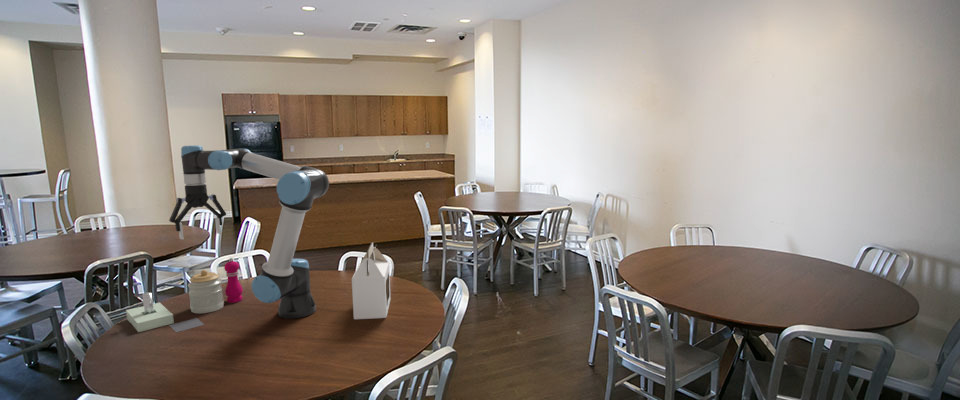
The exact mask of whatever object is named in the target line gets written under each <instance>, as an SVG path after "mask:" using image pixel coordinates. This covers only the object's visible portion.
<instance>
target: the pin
mask: <svg viewBox="0 0 960 400" xmlns="http://www.w3.org/2000/svg"><path fill="white" fill-rule="evenodd" d="M141 295H142V304H143V306H144V313H145V315H148V314H152V313H154V308H153V304H154V302H153V301H154V300H153V293H152V292H151V291H148V292H143V293H142V294H141Z"/></svg>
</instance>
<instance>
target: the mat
mask: <svg viewBox="0 0 960 400" xmlns="http://www.w3.org/2000/svg"><path fill="white" fill-rule="evenodd" d="M204 325H205V324H204V322H202V321H201V320H200V319H199V318H198V317H195V318H191V319H187V320H183V321H180V322H176V323H175V322H174V323H172V324H169V325H168V326H169V327H170V328H171V329H172V330H173V331H174V332H175V333H180V332H183V331H186V330H187V331H188V330H190V329H194V328H197V327H200V326H201V327H202V326H204Z"/></svg>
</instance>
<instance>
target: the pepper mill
mask: <svg viewBox="0 0 960 400" xmlns="http://www.w3.org/2000/svg"><path fill="white" fill-rule="evenodd" d="M223 269H224V271H225V274H226V275H225V276H226V277H227V283H226V287H225V290H224V294H225V295H226V302H227V303H229V304H230V303H231V304H234V303H238V302H241V301H242V300H243V295H242V294H243V292H244V290H243V286H242V285H241V283H240V281H239V277H238V275H239V274H240V273H239V269H240V264H239V262H238V261H234V258H233V257H230V258H228V261H227V262H226V263H225V264H224V268H223Z"/></svg>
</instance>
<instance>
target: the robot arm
mask: <svg viewBox="0 0 960 400" xmlns="http://www.w3.org/2000/svg"><path fill="white" fill-rule="evenodd" d="M180 151H181V152H180V153H181V154H180V155H181V156H180V158H181V163H182V171H183V173H182V174H183V183H184V184H185V185H184V192H185V197H181V198H180V197H177V198H176V204H175V206H174V208H173V210H172V213H171V215H170V217H169V219H168V222H170V223H173V224H175V225H174V226H175V231H176V232H178V236H179V240H182V241H183V240H185V239H184V238H185V237H184V226H183V223H182V222H181V221H183V219H184V218H185V216H186V215H187V214H188V213H189V211H190V210H191V209H192V208H193V209H195V208H203V207H205V208H206V209H207V210H208V211H210V212H211V213H212V214H213V215H215V216H216V217H214V221H215V230H216V234H218V235H220V234H221V226H222V225H223V220H222V219H223V217H224V216H225V217H226V216H227V212H226V211H225V210H224V209H223V206H222V205H221V203H220V202H219V201H218V198H217V195H216V194H213V193H212V194H211V195H208V190H207V189H208V188H207V184H206V182H207V179H206V178H207V177H206V171H207V170H208V171H209V170H211V171H212V170H213V171H214V170H215V171H224V170H229V169H232V168H239V169H241V170H245V171H248V172H252V173H254V174H258V175H262V176H265V177H269V178H272V179H275V180H278V181H277V183H276V193H277V197H278V199H279V200H278V203H279V205H280V206H281V210H280V214H279V218H278V222H277V226H276V230H275V233H274V237H273V240H272V241H273V242H272V245H271V248H270V249H271V250H270V252H269V255H268V260H267V261H266V262H263V264H262V266H261V269H260V274H259V275H257V276H255V277H254V278H253V280H252V281H251V290H252V293H253V295H254V297H255V298H256V299H257V300H259V302H262V303H265V304H271V303H274V302H277V301H279V305H278V308H277V311H278V312H277V313H278V315H277V316H278V317H280V318H282V319H299V318H305V317H308V316H310V315H312V314H314V313H315V312H317V304H316V303H315V302H316V301H315V299H314V297H313V295H312V292H311V280H310V279H311V277H310V265H309V261H308V260H307V259H305V258H294V255H295V252H296V250H297V249H296V248H297V244H298V242H299V238H300V235H301V234H300V233H301V231H302V226H303V223H304V219H305V216H306V213H307V212H308V211H310V210H311V209H312V205H313V203H314V200H315V199H319V198H320V197H322V196H324V195H325V194H326V193H327V191H328V190H329V186H330V180H329V177H328V175H327V174H326V173H325V171H323V170H321V169H319V168H315V167H311V166H308V165H302V166H299V165H296V164H291V163H288V162H285V161H281V160H279V159H274V158H271V157H267V156H264V155H260V154H258V153H257V154H256V153H253V152H251V151H250V150H249V149H248V148H241V147H239V148H232V149H217V150H204V149H203V146H202V145H196V144H194V145H183V146H182V147H181V148H180ZM209 200H210V201H211V202H212V203H213V205H214V206H215V207H216V209H217V210H216V209H215V208H214V207H212V206H211V205H210V204H209V203H208V201H209ZM184 202H185V203H187V204H185V206H184V207H183V209H182V210H181V207H182V204H184ZM180 210H181V212H180ZM218 211H219V212H218ZM179 212H180V213H179ZM178 213H179V215H178Z"/></svg>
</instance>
